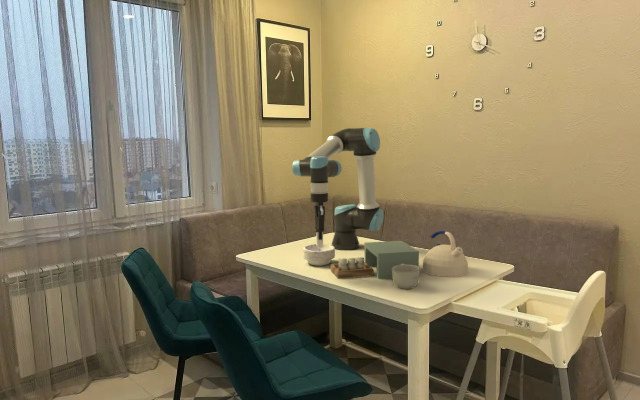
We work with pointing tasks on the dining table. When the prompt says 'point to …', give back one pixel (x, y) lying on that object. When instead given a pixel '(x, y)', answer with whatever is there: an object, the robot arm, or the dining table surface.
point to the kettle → (445, 259)
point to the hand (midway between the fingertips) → (319, 246)
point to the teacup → (405, 276)
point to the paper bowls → (319, 254)
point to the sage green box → (389, 256)
